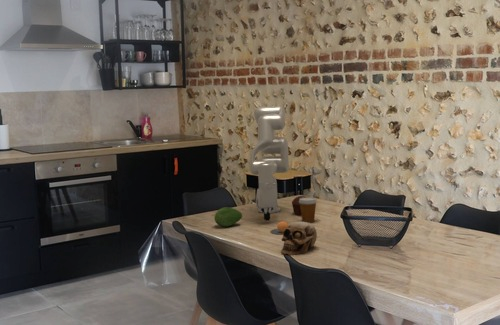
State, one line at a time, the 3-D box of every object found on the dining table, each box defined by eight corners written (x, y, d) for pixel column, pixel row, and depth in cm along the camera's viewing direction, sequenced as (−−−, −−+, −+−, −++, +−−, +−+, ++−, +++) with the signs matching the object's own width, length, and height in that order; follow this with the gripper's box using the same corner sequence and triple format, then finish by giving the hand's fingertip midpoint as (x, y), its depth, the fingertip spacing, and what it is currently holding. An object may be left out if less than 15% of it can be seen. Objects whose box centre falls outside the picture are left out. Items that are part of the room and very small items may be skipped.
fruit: (238, 222, 338) (237, 203, 337) (246, 225, 330) (245, 207, 328) (212, 225, 332) (211, 207, 331) (219, 229, 323) (218, 210, 322)
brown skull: (280, 255, 272) (281, 224, 272) (281, 248, 289) (282, 219, 289) (317, 255, 271) (317, 224, 270) (316, 249, 288) (316, 220, 288)
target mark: (266, 230, 317) (266, 230, 317) (288, 227, 321) (288, 227, 321) (275, 235, 306) (275, 235, 306) (298, 232, 310) (298, 232, 310)
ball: (278, 221, 308) (280, 232, 307) (289, 220, 310) (291, 231, 309) (274, 222, 314) (276, 234, 313) (285, 221, 315) (287, 232, 314)
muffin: (288, 213, 355) (287, 196, 354) (305, 211, 359) (304, 194, 358) (298, 217, 344) (298, 199, 343) (316, 214, 349) (315, 197, 347)
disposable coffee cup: (318, 222, 330) (317, 200, 328) (299, 223, 330) (299, 200, 328) (316, 218, 339) (315, 196, 338) (298, 219, 339) (298, 197, 338)
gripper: (276, 183, 337) (277, 217, 339) (250, 186, 332) (251, 220, 334) (281, 185, 330) (282, 220, 332) (254, 188, 325) (256, 223, 327)
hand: (267, 220), depth 333 cm, fingers closed
